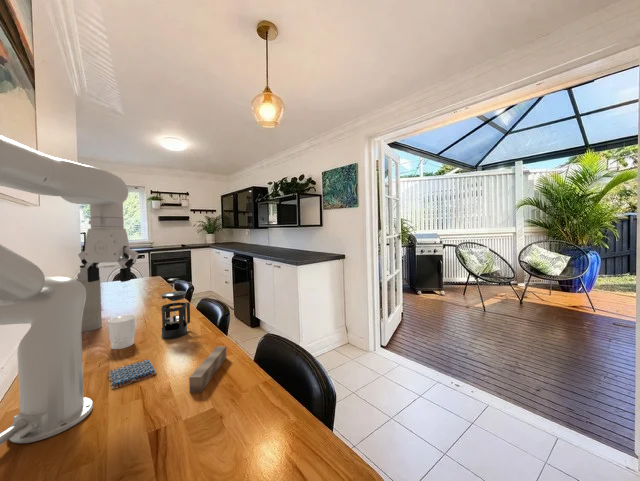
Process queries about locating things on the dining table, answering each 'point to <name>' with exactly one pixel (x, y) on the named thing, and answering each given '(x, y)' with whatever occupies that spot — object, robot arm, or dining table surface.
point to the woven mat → (131, 373)
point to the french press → (174, 324)
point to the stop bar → (207, 369)
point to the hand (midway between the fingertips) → (109, 281)
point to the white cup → (121, 331)
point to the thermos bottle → (90, 302)
